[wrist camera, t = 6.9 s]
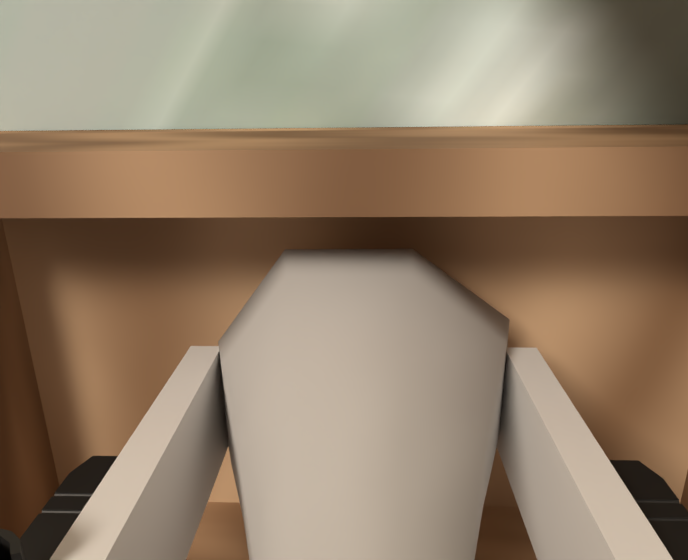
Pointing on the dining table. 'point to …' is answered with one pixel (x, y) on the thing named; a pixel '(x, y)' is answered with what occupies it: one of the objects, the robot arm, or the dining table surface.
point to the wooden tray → (333, 233)
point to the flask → (362, 407)
